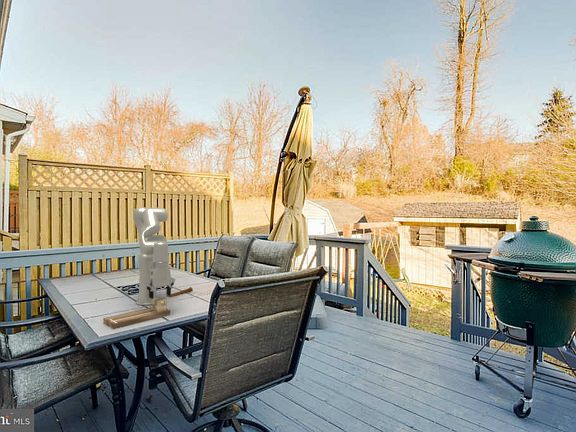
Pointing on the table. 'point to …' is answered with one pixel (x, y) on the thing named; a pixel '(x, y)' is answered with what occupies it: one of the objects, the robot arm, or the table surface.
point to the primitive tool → (181, 292)
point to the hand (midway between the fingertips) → (160, 296)
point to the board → (134, 317)
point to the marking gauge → (159, 304)
